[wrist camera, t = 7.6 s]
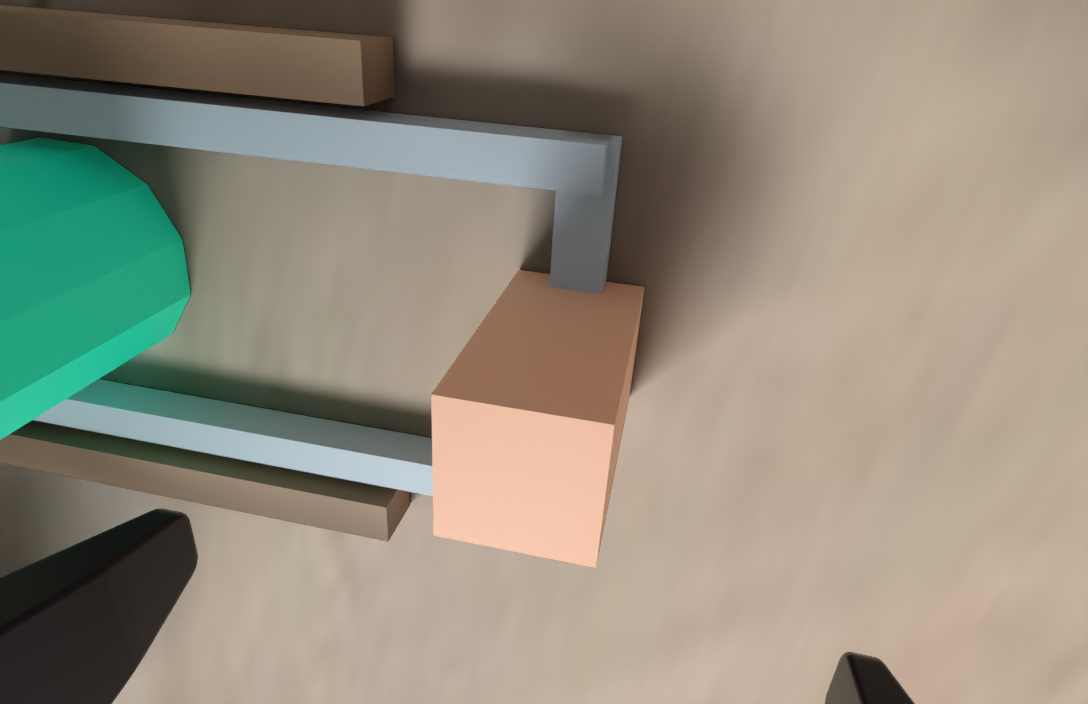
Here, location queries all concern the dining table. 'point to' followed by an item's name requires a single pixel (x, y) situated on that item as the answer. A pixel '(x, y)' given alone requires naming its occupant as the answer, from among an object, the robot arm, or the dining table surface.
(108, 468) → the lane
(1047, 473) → the dining table surface
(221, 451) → the frame
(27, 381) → the candle
